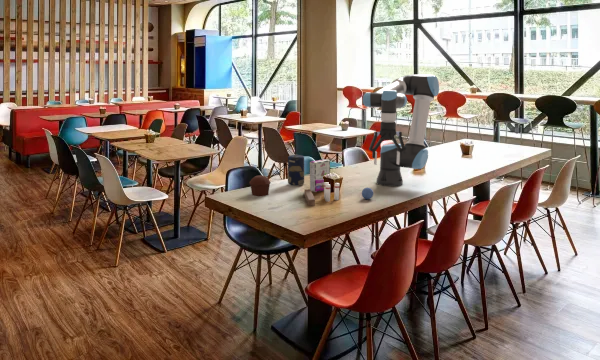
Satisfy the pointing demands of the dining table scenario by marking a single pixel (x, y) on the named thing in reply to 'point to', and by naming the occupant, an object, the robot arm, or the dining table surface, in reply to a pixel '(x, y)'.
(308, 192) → the back wall
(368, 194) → the ball
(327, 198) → the pin
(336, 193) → the front pin
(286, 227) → the dining table surface
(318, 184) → the candy bar box
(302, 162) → the canister
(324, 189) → the pin
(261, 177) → the muffin
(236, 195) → the dining table surface
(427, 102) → the robot arm
